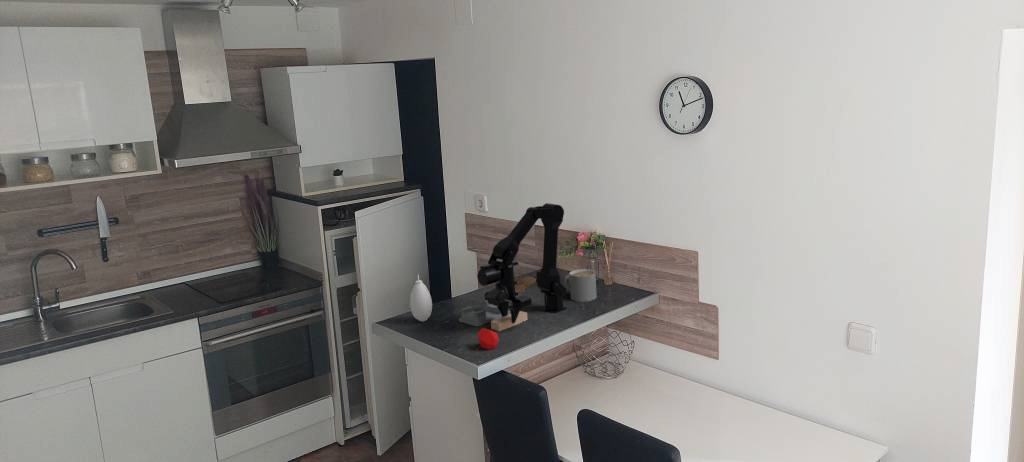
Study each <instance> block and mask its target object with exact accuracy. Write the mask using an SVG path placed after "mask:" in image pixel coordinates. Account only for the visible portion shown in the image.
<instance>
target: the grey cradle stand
mask: <svg viewBox="0 0 1024 462" xmlns="http://www.w3.org/2000/svg"><path fill="white" fill-rule="evenodd" d="M473 308H474V307H473V306H471V305H469V306H465V307H463V308H461V309H460V311H461V317H460V318H458V322H461V323H463V324H466V325H470V326H474V327H478V328H479V327H480V326H483V325H486V324H488V323H491V321H494V320H496V319H499V318H502V315H501V313H500V310H499V308H498V307H497V306H495V305H492V304H489V303H488V301H487V300H483V309H481V310H478V311H475V310H473ZM509 314H511V311H510V309H508V315H509Z"/></svg>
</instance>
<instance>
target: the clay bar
mask: <svg viewBox="0 0 1024 462" xmlns="http://www.w3.org/2000/svg"><path fill="white" fill-rule="evenodd" d="M526 320H527V321H528V312H526V311H521V310H520V312H519V314H518V317H517V319H516V322H515V323H512V319H511V314H509V315H507V316H504V317H501V318H499V319H496V320H494V321H491V322H490V326H491V329H490V330H492V331H497V332H501V331H503V330H506V329H509V328H511V327H514V326H516V325H519V324H521V323H523V321H524V322H526Z"/></svg>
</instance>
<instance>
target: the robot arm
mask: <svg viewBox="0 0 1024 462" xmlns="http://www.w3.org/2000/svg"><path fill="white" fill-rule="evenodd" d="M564 216H565V209H564V208H563V206H562V205H560V204H555V203H548V202H547V203H544V204H543V205H540V206H534V207H533V206H530V207H528V208H527V209H526V210H525V213H524V215H523V216H522V217H521V219H520V220H519V221H518V222H517V224H515V226H514V228H512V230H511V231H510V232H509V234H508V235H507V236H506V237H504V238H502V239H500V240H499V241H498V242H497V243H496V244H495V245H494V247H493V248H492V253H491V255H490V257H489V260H488V261H487V264H486V265H481V266H480V268H479V270H478V272H477V277H476V278H477V281H478V283H479V284H480V285H481V286H482V287H485V286H489V285H493V284H495V288H493V289H491V290H488V291H485V293H484V301H486V300H487V301H488V303H489V304H492V305H495V306H497V307H498V308H499V310H500V313H501V315H502V317H504V316H507V315H508V310H509V311H511V319H512V323H515V322H516V319H517V317H518V314H519V312H520V311H521V309H523V308H526V307H529V306H532V305H533V303H532V302H533V301H532V298H531V297H530V296H527V295H520V296H519V293H518V292H515V284H517V280H516V279H515V270H514V268H515V266H517V265H518V266H519V262H518V261H516V260H515V258H516V256H517V254H518V252H519V249H520V244H521V242H523V240H524V239H525V237H526V236H527V235H528V233H529V232H530V231H531V230H532V228H533V227H534V225H535V224H536V222H538V220H541V223H542V225H543V227H544V228H543V229H544V231H543V232H544V235H543V253H542V254H543V255H542V266H541V268H540V271H539V270H537V271H536V278H535V279H536V282H535V283H536V285H537V287H538V289H539V290H540V293H542V294H544V296H543V297H544V300H543V301H544V307H543V308H542V311H546V312H550V313H555V314H556V313H558V312H561V311H563V310H565V309H567V306H564V299H563V296H564V295H566V293H567V288H566V286H565V285H563V284H562V283H561V277H560V276H561V275H560V273H559V271H558V268H557V258H558V235H559V228H560V227H561V225H562V223H563V220H564ZM509 303H510V304H511V305H509ZM502 317H501V318H502Z"/></svg>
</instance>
